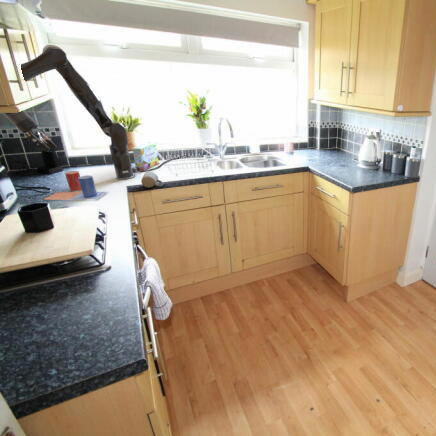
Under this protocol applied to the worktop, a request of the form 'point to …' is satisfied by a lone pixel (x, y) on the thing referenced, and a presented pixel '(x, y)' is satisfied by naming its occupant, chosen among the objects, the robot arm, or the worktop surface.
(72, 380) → the worktop surface
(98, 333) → the worktop surface
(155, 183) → the ceramic mug
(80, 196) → the sorting board
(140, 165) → the snack box
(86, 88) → the robot arm
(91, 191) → the blue upright cylinder
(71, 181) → the red upright cylinder
